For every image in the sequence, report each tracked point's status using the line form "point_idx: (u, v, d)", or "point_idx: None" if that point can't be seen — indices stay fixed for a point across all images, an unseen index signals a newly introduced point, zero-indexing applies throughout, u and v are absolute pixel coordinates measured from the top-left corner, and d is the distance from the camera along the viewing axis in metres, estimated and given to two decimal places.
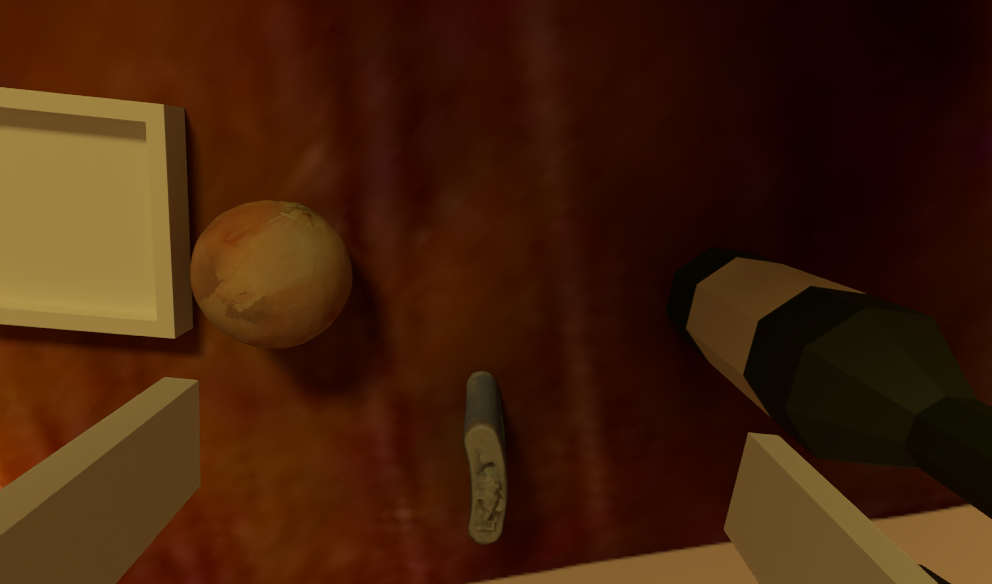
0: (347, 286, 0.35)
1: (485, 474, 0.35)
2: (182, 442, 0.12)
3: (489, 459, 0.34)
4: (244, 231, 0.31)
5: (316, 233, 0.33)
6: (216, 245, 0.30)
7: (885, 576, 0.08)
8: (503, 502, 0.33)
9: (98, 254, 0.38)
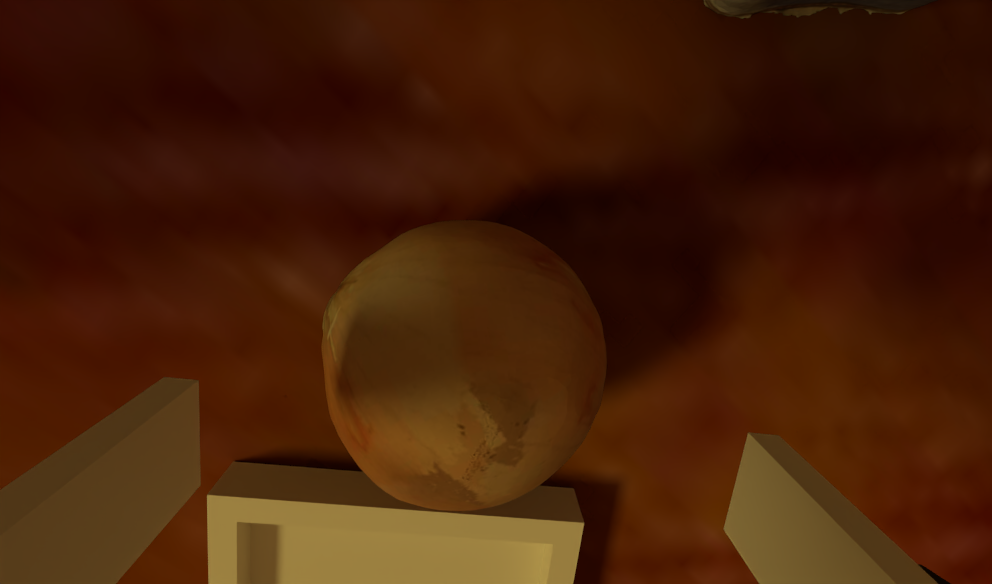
0: (489, 225, 0.17)
1: None
2: (182, 442, 0.12)
3: None
4: (347, 409, 0.15)
5: (369, 274, 0.16)
6: (373, 463, 0.15)
7: (885, 576, 0.08)
8: None
9: None
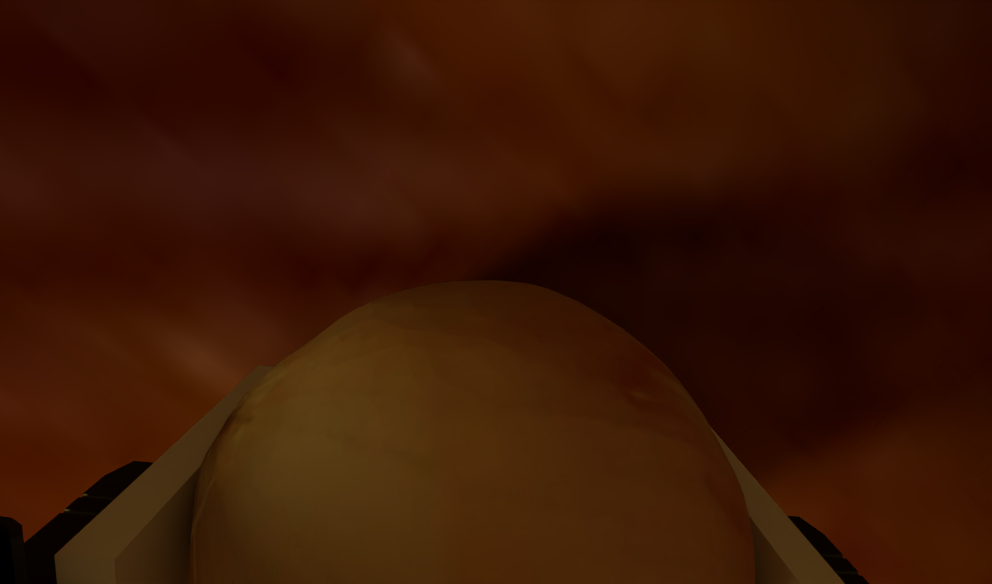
0: (522, 299, 0.09)
1: None
2: None
3: None
4: None
5: (275, 410, 0.08)
6: None
7: (750, 520, 0.09)
8: None
9: None
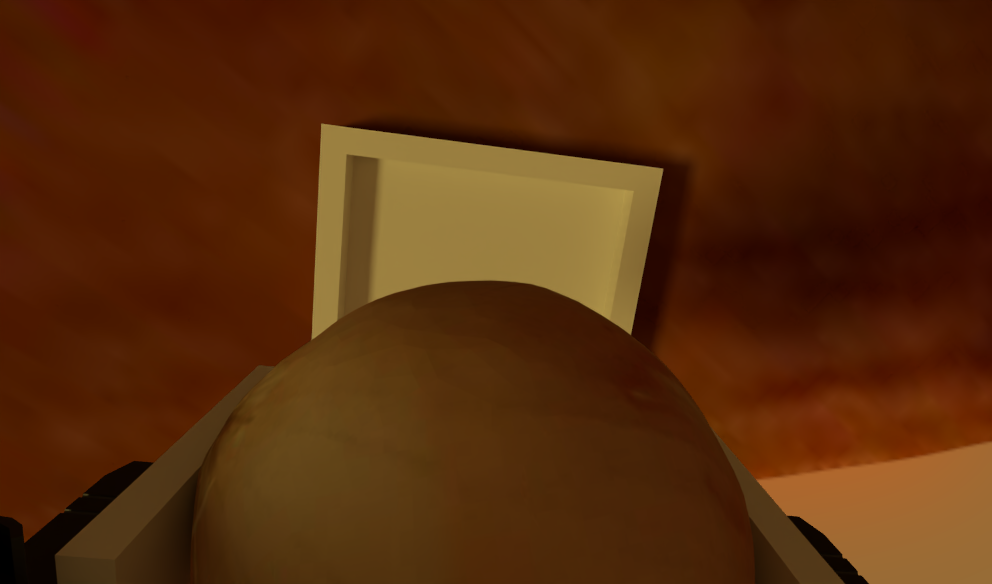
0: (522, 299, 0.09)
1: None
2: None
3: None
4: None
5: (275, 411, 0.08)
6: None
7: (750, 520, 0.09)
8: None
9: (531, 270, 0.28)
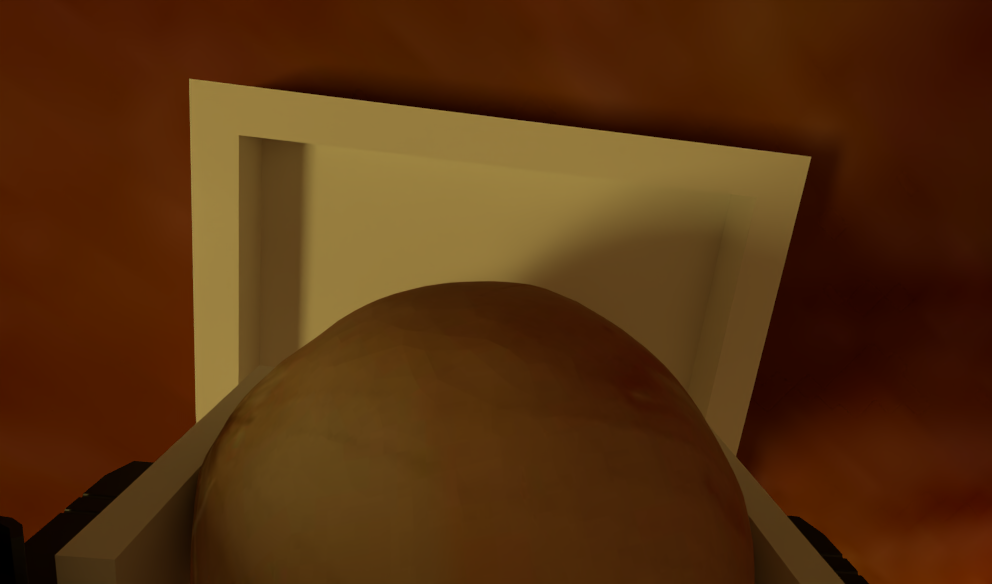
0: (522, 299, 0.09)
1: None
2: None
3: None
4: None
5: (276, 411, 0.08)
6: None
7: (750, 520, 0.09)
8: None
9: None
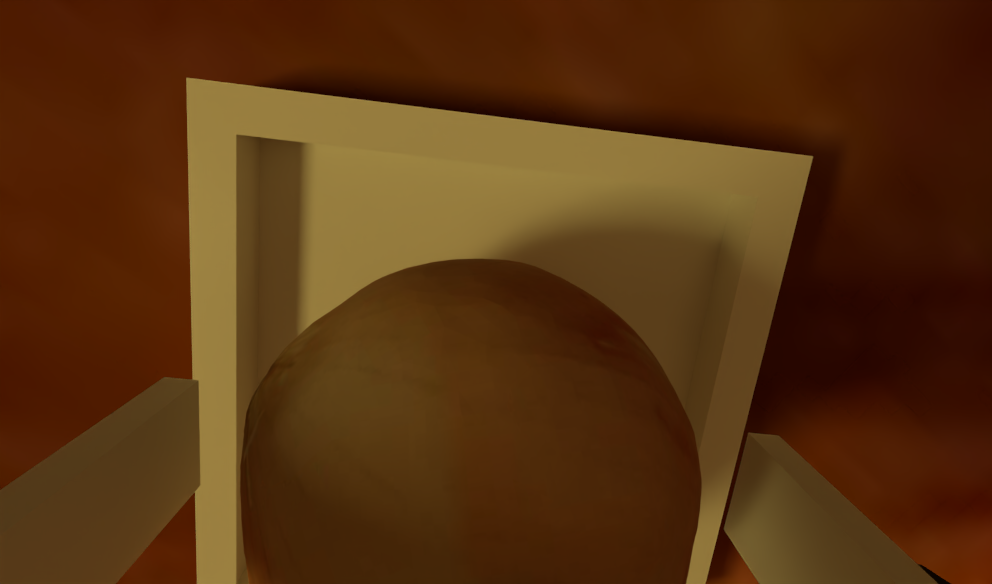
0: (513, 271, 0.11)
1: None
2: (182, 442, 0.12)
3: None
4: None
5: (313, 356, 0.10)
6: None
7: (885, 576, 0.08)
8: None
9: None
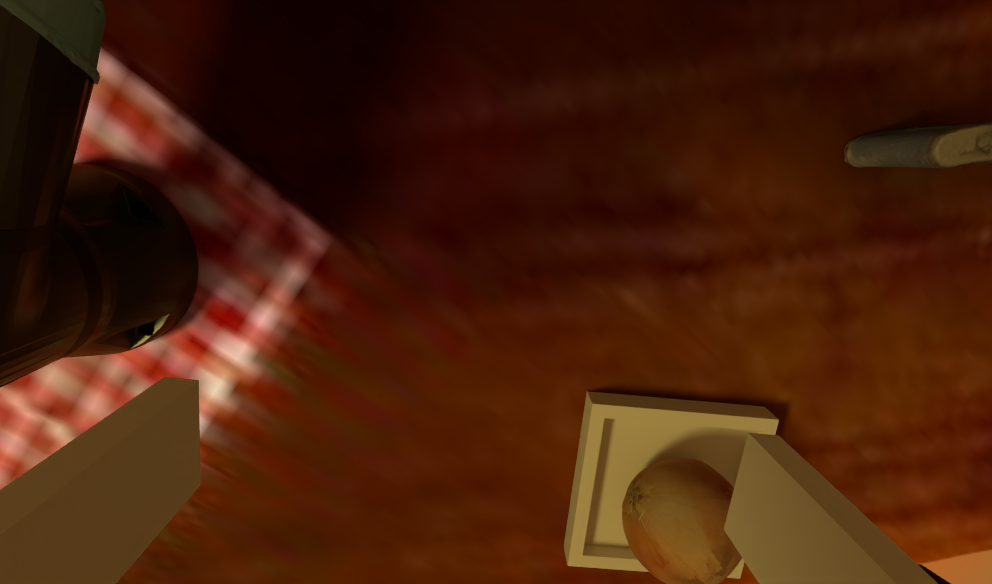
0: (699, 470, 0.42)
1: (987, 145, 0.34)
2: (182, 442, 0.12)
3: (973, 141, 0.34)
4: (655, 552, 0.40)
5: (656, 495, 0.41)
6: (665, 573, 0.40)
7: (885, 576, 0.08)
8: None
9: None
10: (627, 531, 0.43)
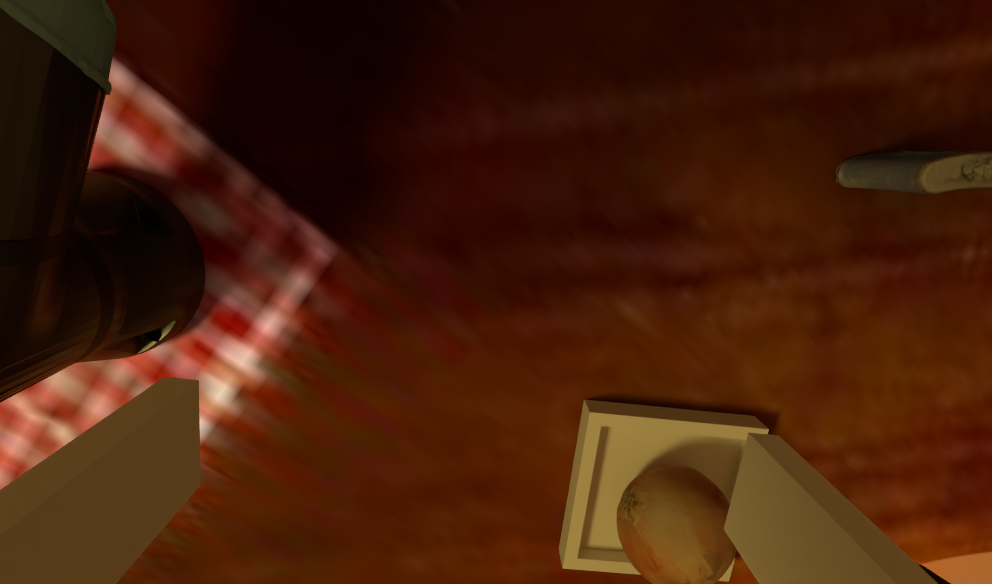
0: (692, 478, 0.43)
1: (971, 173, 0.36)
2: (182, 442, 0.12)
3: (958, 169, 0.35)
4: (649, 557, 0.41)
5: (650, 502, 0.42)
6: (658, 577, 0.41)
7: (885, 576, 0.08)
8: None
9: None
10: (622, 536, 0.44)
